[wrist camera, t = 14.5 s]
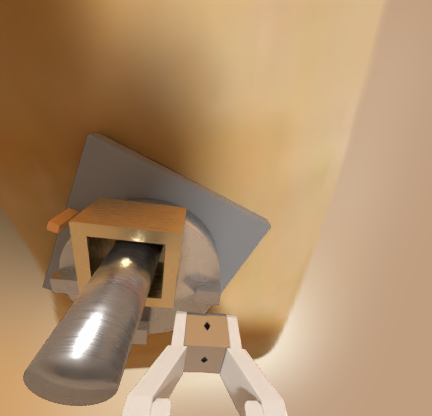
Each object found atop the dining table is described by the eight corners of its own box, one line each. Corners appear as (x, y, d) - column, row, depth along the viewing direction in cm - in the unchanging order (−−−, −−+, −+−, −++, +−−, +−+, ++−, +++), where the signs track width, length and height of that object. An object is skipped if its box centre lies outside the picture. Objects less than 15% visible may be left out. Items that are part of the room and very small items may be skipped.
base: (97, 132, 16) (66, 136, 13) (266, 219, 20) (280, 241, 17) (52, 276, 22) (22, 308, 18) (191, 321, 26) (189, 354, 22)
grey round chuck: (207, 311, 23) (208, 378, 17) (87, 302, 21) (42, 373, 15) (231, 199, 17) (244, 241, 11) (71, 177, 16) (-9, 212, 10)
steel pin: (132, 213, 14) (32, 347, 6) (171, 230, 15) (130, 370, 7) (118, 245, 15) (16, 396, 7) (155, 259, 16) (103, 411, 8)
